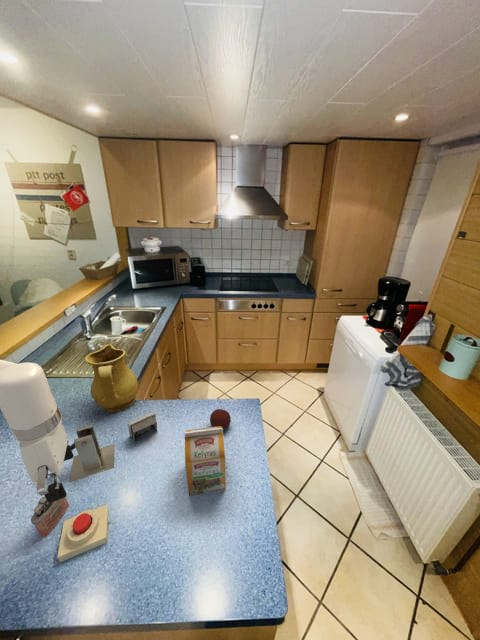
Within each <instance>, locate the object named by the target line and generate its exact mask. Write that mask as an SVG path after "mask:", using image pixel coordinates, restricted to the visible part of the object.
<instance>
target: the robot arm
mask: <svg viewBox="0 0 480 640" xmlns="http://www.w3.org/2000/svg"><path fill="white" fill-rule="evenodd" d="M0 411H1V413H2V415H3V417H4V419H5V421H6V423H7V425H8V427H9V429H10V431H11V432H12V434H13V436H14V438H15V440H16V441H17V442H18V443H19V450H20V454H21V455H20V456H21V458H22V461H23V465H24V467H25V469H26V472H27V475H28V477H29V479H30V481H31V482H32V483H33V484H36V494H37V495H39V496H41V497H42V496H44V497H46V499H47V501H48V502H49V503H51V502H54V501H57V500H59V499H62V498H65V497H66V498H67V495H68V493H67V491H66V488H65V487H64V485H63V482H60V474H61V471H62V470H63V466H64V462H67V461H68V460H73V458H74V456H75V455H74V453H73V450H71V447H70V446H71V445H70V444H69V443H70V441H69V438H68V434H67V431H66V429H65V427H64V423H63V417H62V415H61V412H60V409H59V407H58V404H57V403H56V399H55V397H54V394H53V392H52V390H51V386H50V383H49V381H48V379H47V375H46V373H45V371H44V369H43V367H42V366H41V365H40V364H38V363H35V362H20V363H16V362H13V361H9V360H4V359H0ZM49 472H50V473H49ZM52 477H53V483H50V484H48V483H49V482H48V479H50V478H52Z"/></svg>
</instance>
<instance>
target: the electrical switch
mask: <svg viewBox="0 0 480 640" xmlns="http://www.w3.org/2000/svg"><path fill="white" fill-rule="evenodd" d="M156 417H157V414H156V412H155V411H153V412H150V413H149V414H146V415H145V416H144V415H143V416H142V417H141V416H140V417H139V418H137V419H135V420H133V421H130V422H129V423H127V429H128V434H129V438H132V439H133V441H134V442H136V438H135V436H136V437H137V436H141V435H143V434H144V433H147V432H149V431H152V429H153V428H154V429H155V431H156V432H158V423H157V418H156Z"/></svg>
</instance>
